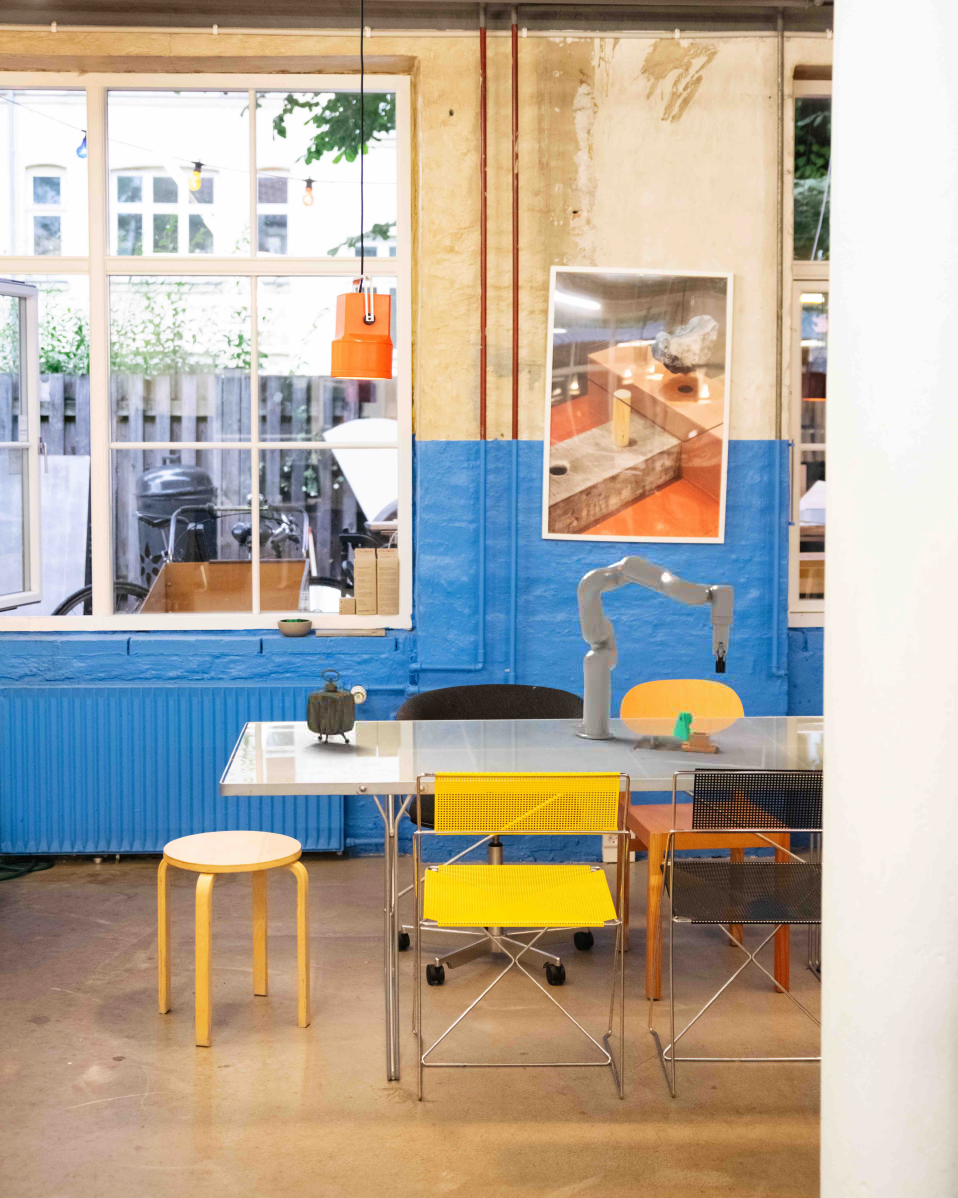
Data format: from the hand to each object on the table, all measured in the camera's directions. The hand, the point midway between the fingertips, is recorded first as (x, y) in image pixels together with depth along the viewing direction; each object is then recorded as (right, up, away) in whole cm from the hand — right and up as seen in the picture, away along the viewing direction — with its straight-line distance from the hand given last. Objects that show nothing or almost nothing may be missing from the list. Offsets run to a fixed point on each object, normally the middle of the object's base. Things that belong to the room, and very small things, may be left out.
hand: (720, 671), depth 392 cm
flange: (-9, -26, -6) cm, 28 cm away
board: (-16, -27, -5) cm, 31 cm away
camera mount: (-8, -26, +14) cm, 30 cm away
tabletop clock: (-133, -24, -8) cm, 135 cm away
